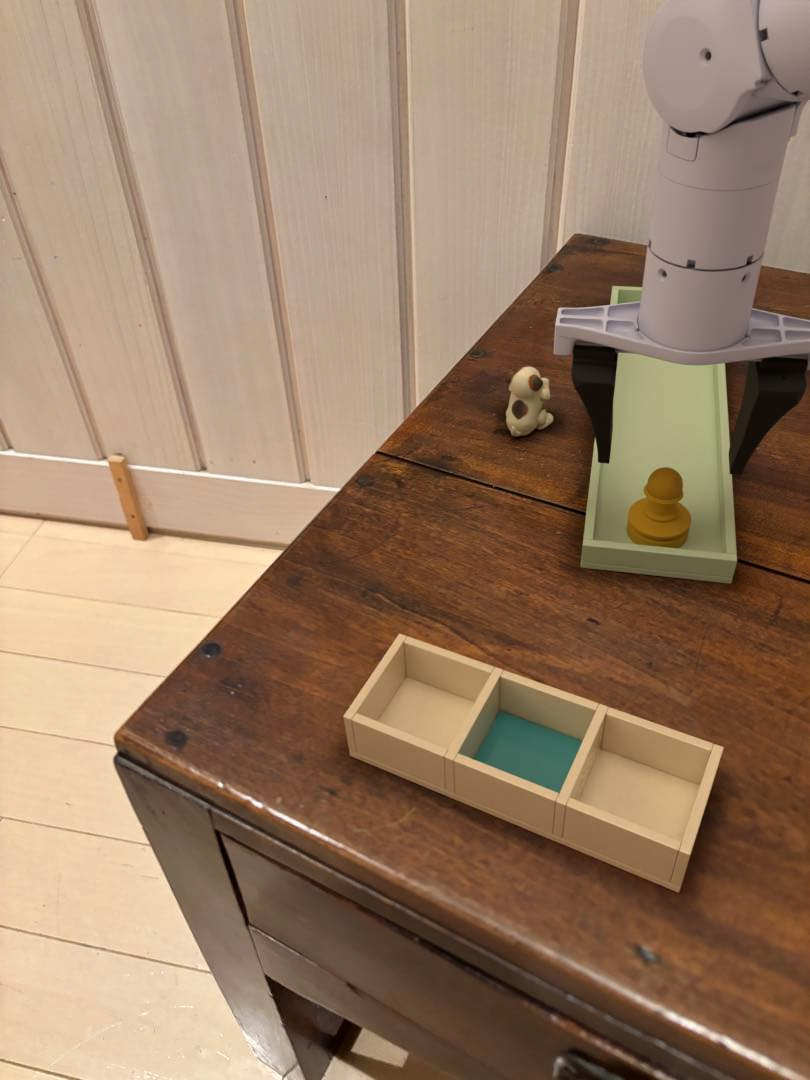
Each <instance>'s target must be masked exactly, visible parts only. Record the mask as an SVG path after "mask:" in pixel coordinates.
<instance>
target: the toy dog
mask: <svg viewBox="0 0 810 1080" xmlns="http://www.w3.org/2000/svg"><path fill="white" fill-rule="evenodd" d="M504 380H505V381H504V382H505V383H506V384H507V385H508V390H509V392H510V396H509V400H508V406H507V409H506V411H505V417H506V418H505V422H506V426H507V428H508V430H509V431H510V434H511V436H513V437H521V436H528V435H529V434H531V433H532V432H533V431H535V429H537V430H543V429H546V428H547V427H548V426H550V425H551V424H552V423H553V422H554V416H553V415H552V414H551V413H550V412H547V410H546V409H545V408H544V409H543V405H544V400H547V401H548V400H550V399H551V391H550V380H549V378H547V377H541V374H540V371H539V370H538V369H537V368H535V367H533V366H532V365H530V366H518V367H517V368H515V369H513V370H509V371H507V373H506V375H505V379H504Z"/></svg>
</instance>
